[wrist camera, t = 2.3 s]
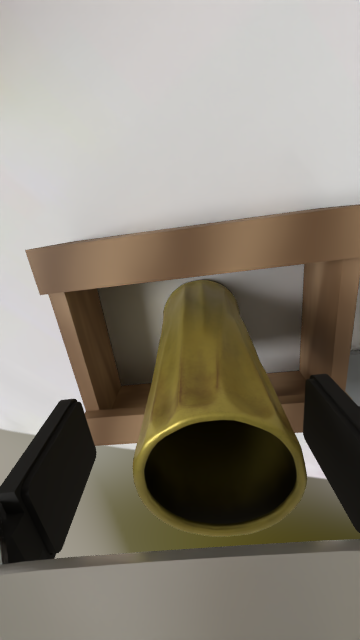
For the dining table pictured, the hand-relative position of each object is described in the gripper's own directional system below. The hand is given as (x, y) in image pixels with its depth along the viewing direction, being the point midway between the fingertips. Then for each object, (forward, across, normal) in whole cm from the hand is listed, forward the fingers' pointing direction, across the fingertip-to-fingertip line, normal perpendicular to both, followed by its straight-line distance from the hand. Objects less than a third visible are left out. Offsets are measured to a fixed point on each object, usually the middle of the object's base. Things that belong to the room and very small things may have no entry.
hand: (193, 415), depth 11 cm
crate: (+11, -1, 0) cm, 11 cm away
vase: (+11, -1, 0) cm, 11 cm away
